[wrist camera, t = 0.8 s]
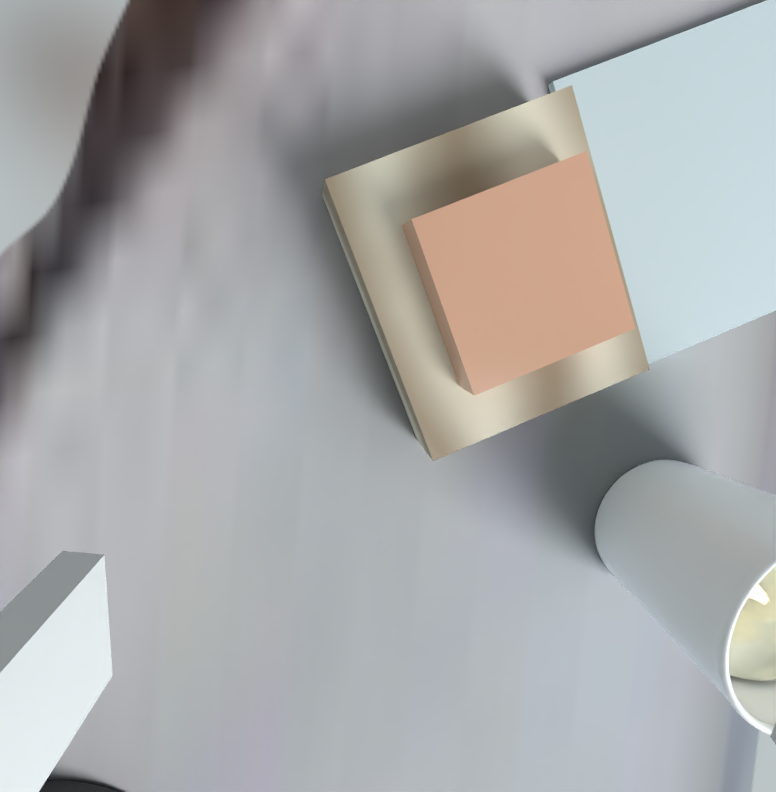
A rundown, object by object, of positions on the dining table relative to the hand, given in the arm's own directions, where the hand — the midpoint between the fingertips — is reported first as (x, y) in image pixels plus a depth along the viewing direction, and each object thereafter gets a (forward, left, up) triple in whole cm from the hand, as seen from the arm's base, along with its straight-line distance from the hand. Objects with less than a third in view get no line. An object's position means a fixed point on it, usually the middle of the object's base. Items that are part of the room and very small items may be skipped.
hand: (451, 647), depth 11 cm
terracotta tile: (+9, +4, -17) cm, 20 cm away
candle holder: (+15, -14, -21) cm, 29 cm away
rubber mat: (+23, +4, -21) cm, 31 cm away
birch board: (+9, +4, -21) cm, 23 cm away
